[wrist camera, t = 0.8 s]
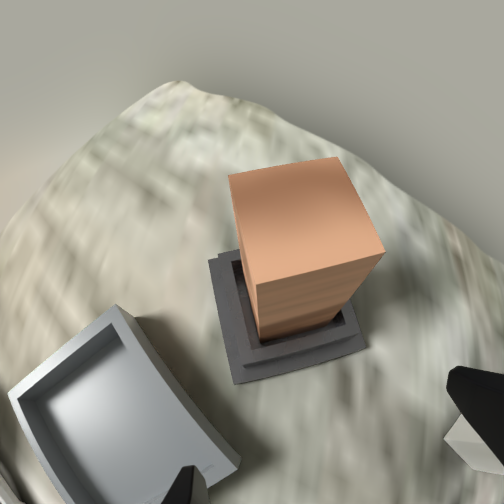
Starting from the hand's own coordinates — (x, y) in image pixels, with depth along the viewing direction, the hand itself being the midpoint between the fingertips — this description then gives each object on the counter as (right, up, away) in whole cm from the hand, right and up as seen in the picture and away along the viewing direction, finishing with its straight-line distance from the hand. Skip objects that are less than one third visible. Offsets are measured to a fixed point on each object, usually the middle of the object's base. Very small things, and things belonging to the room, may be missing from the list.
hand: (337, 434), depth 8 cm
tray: (-13, -8, +11) cm, 19 cm away
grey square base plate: (0, +1, +15) cm, 15 cm away
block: (0, +2, +14) cm, 14 cm away
